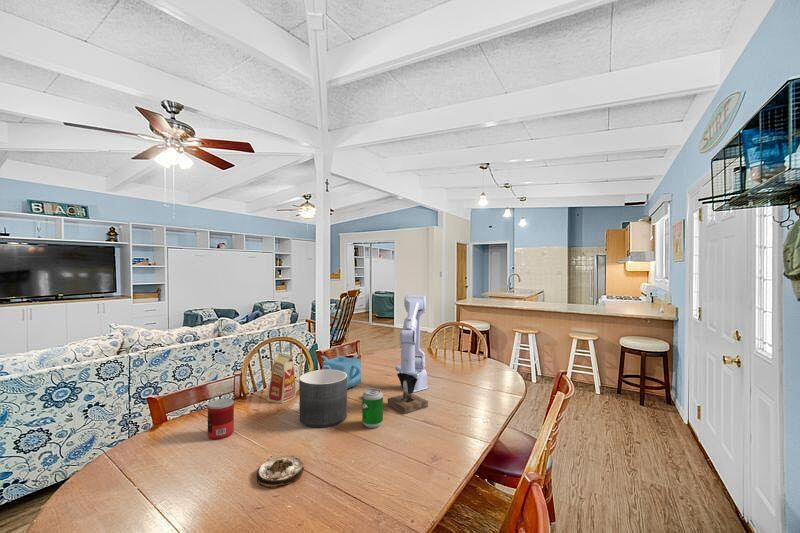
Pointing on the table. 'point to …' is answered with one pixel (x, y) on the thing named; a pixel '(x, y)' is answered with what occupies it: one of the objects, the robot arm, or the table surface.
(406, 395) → the long pin
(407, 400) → the socket block
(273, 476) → the sushi roll
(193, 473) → the table surface
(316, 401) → the planter
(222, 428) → the canned food
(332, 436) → the table surface
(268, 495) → the table surface
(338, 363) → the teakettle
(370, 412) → the soda can
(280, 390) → the milk carton
